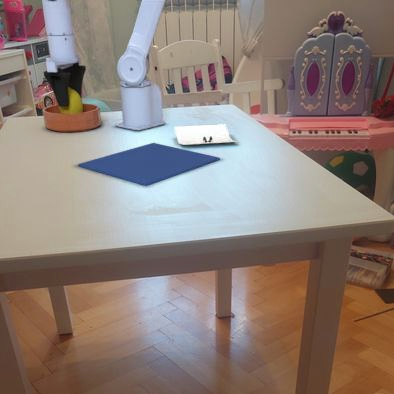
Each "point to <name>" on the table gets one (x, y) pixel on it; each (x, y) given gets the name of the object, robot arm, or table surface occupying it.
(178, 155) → the cloth
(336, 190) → the table surface
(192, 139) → the white square plate
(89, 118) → the bowl
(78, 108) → the lemon
